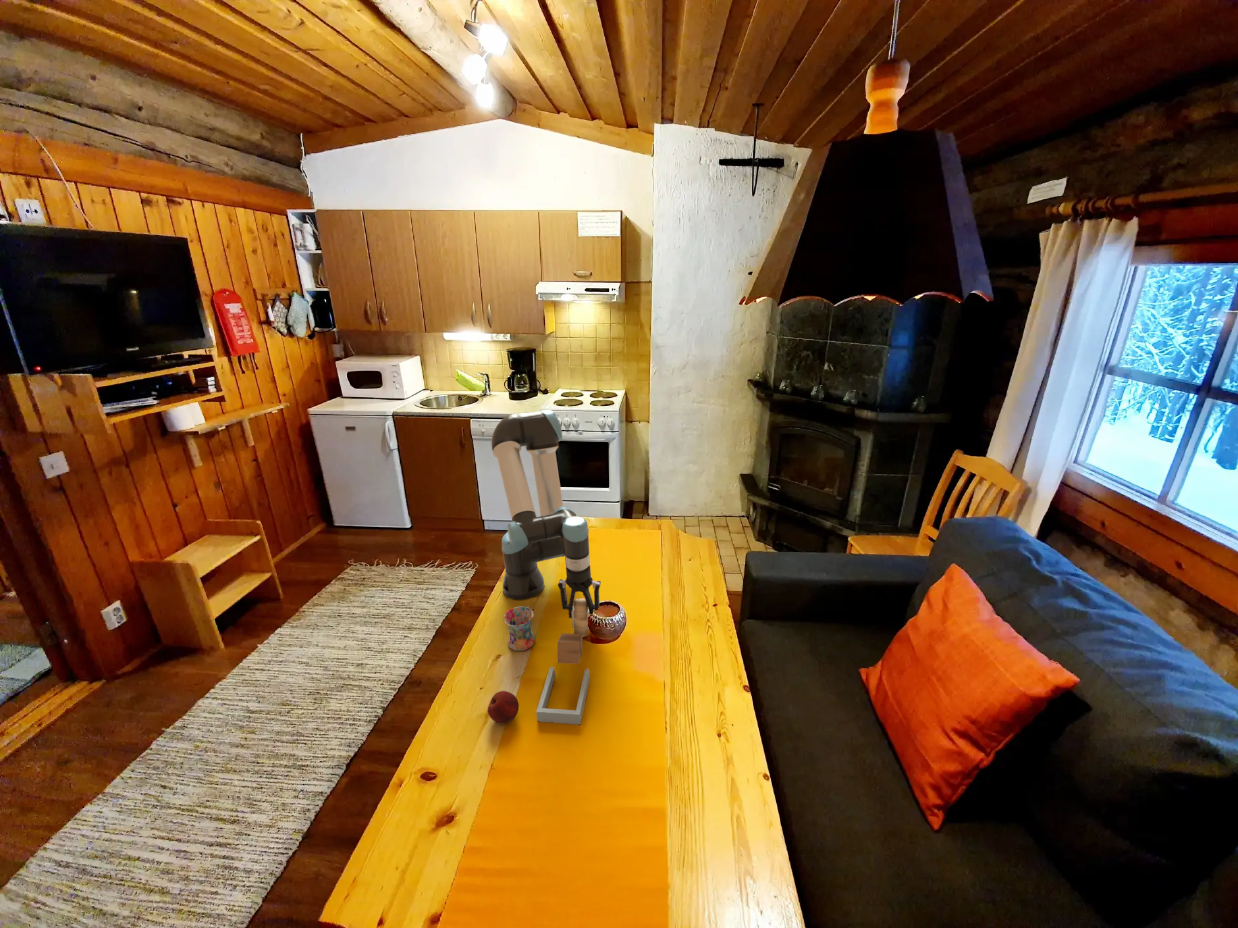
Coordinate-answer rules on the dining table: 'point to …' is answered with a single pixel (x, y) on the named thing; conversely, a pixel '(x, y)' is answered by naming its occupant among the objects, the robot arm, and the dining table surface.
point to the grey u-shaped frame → (560, 714)
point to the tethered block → (574, 635)
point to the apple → (503, 707)
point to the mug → (519, 627)
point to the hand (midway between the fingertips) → (582, 625)
